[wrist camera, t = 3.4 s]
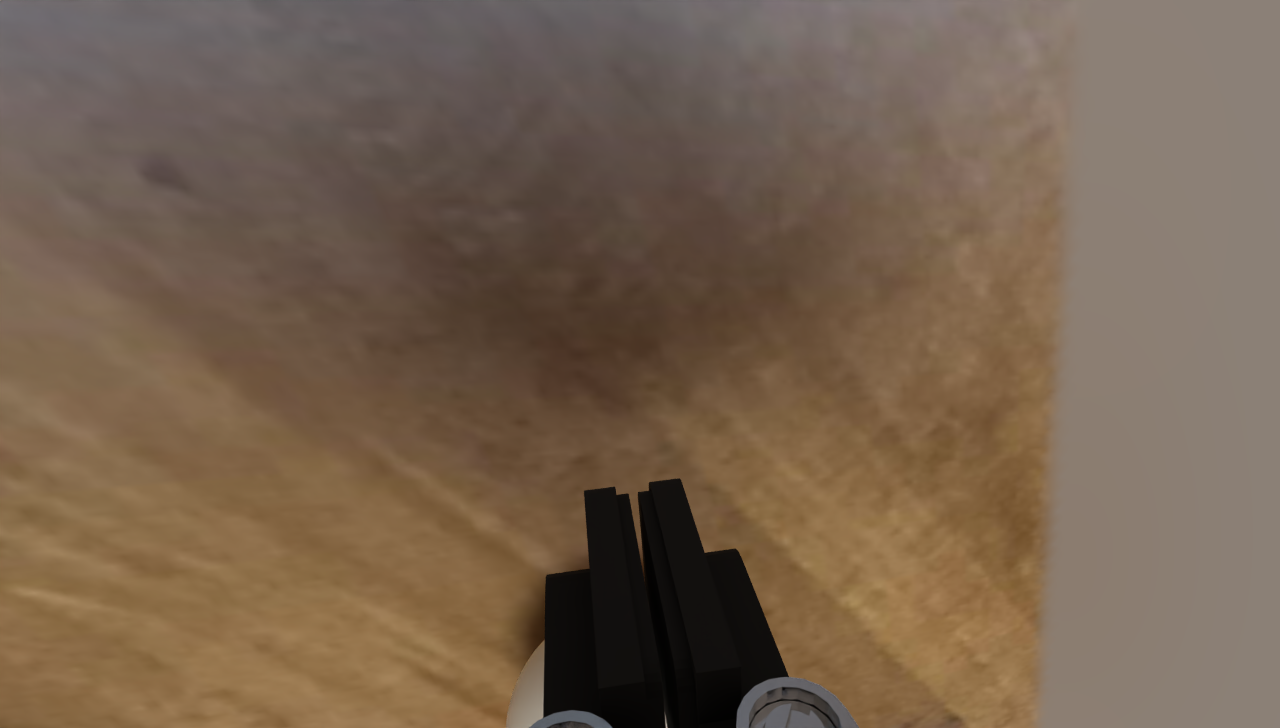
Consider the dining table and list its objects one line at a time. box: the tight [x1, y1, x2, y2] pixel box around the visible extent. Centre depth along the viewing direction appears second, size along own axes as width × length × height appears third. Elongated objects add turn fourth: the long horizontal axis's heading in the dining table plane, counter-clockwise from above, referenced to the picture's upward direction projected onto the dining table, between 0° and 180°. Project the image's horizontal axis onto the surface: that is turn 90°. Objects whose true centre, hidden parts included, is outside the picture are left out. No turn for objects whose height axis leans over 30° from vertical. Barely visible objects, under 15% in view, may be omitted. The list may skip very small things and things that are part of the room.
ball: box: [506, 640, 667, 728], centre depth 18 cm, size 6×6×6 cm
